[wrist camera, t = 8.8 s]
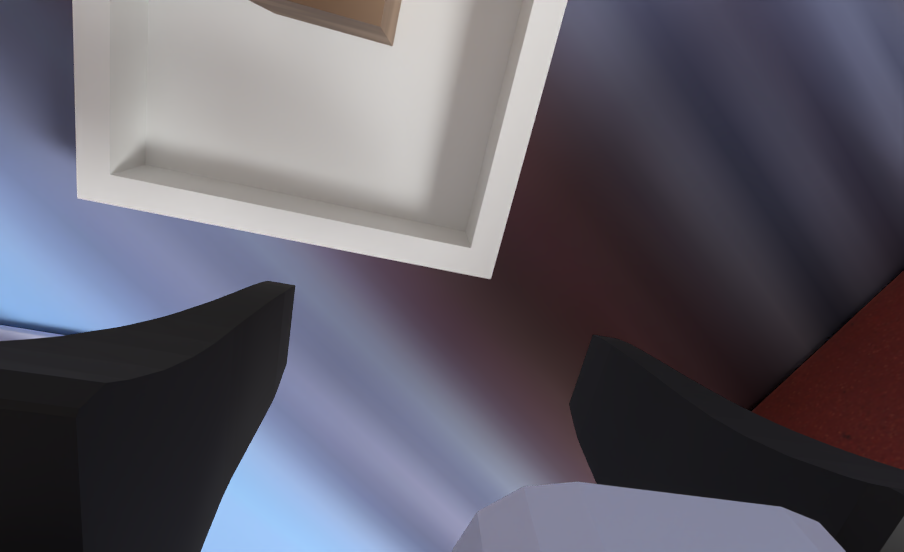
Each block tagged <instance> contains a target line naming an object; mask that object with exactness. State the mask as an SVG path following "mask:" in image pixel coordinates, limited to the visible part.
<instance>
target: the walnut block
mask: <svg viewBox="0 0 904 552" xmlns="http://www.w3.org/2000/svg"><path fill="white" fill-rule="evenodd" d="M249 1H251V2H253V3H255V4H257V5H259V6H261V7H263V8H265V9H267V10H269V11H271V12H273V13H275V14H278V15H281V16H285V17H289V18H292V19H296V20H299V21H303V22H307V23H310V24H314V25H317V26H321V27H325V28H328V29H332V30H335V31H339V32H342V33H346V34H350V35H353V36H357V37H360V38H364V39H368V40H371V41H375V42H378V43H382V44H386V45H389V46H393V43H394V38H395V32H396V27H397V22H398V17H399V12H400V7H401V1H402V0H249Z"/></svg>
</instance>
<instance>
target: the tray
mask: <svg viewBox="0 0 904 552" xmlns="http://www.w3.org/2000/svg"><path fill="white" fill-rule="evenodd" d="M567 1H568V0H402V1H401V7H400V12H399V17H398V22H397V27H396V32H395V38H394V43H393V46H389V45H386V44H382V43H378V42H375V41H371V40H368V39H364V38H360V37H357V36H353V35H350V34H346V33H342V32H339V31H335V30H332V29H328V28H325V27H321V26H317V25H314V24H310V23H307V22H303V21H299V20H296V19H292V18H289V17H285V16H281V15H278V14H275V13H273V12H271V11H269V10H267V9H265V8H263V7H261V6H259V5H257V4H255V3H253V2H251V1H249V0H72V5H73V45H74V85H75V126H76V166H77V198H79V199H84V200H89V201H94V202H100V203H105V204H110V205H115V206H120V207H125V208H130V209H135V210H140V211H145V212H150V213H156V214H161V215H166V216H171V217H176V218H181V219H186V220H191V221H196V222H201V223H206V224H212V225H217V226H222V227H227V228H232V229H237V230H242V231H247V232H252V233H257V234H262V235H268V236H273V237H278V238H283V239H288V240H293V241H298V242H303V243H308V244H313V245H318V246H324V247H329V248H334V249H339V250H344V251H349V252H354V253H359V254H364V255H369V256H374V257H380V258H385V259H390V260H395V261H400V262H405V263H410V264H415V265H420V266H425V267H430V268H436V269H441V270H446V271H451V272H456V273H461V274H466V275H471V276H476V277H481V278H486V279H491V277H492V273H493V270H494V266H495V262H496V259H497V255H498V252H499V248H500V244H501V241H502V237H503V233H504V230H505V226H506V222H507V219H508V215H509V212H510V208H511V204H512V201H513V197H514V193H515V190H516V186H517V183H518V179H519V175H520V172H521V168H522V164H523V161H524V157H525V153H526V150H527V146H528V143H529V139H530V135H531V132H532V128H533V124H534V121H535V117H536V114H537V110H538V106H539V103H540V99H541V95H542V92H543V88H544V85H545V81H546V77H547V74H548V70H549V66H550V63H551V59H552V55H553V52H554V48H555V45H556V41H557V37H558V34H559V30H560V26H561V23H562V19H563V16H564V12H565V8H566V5H567Z"/></svg>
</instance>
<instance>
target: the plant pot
mask: <svg viewBox="0 0 904 552" xmlns="http://www.w3.org/2000/svg"><path fill="white" fill-rule="evenodd" d="M751 412H753V413H755V414H757V415H760V416H762V417H764V418H766V419H768V420H770V421H772V422H775V423H777V424H779V425H781V426H784V427H786V428H788V429H791V430H793V431H795V432H798V433H800V434H803V435H805V436H808V437H811V438H813V439H816V440H818V441H821V442H823V443H826V444H828V445H831V446H834V447H836V448H839V449H842V450H845V451H848V452H850V453H853V454H856V455H859V456H862V457H865V458H868V459H871V460H874V461H877V462H880V463H883V464H887V465H890V466H893V467H896V468H899V469H902V470H904V271H902V272H901V273H900V274H899V275H898V276H897V277H896V278H895V279H894V280H893V281H892V282H891V283H889V284H888V285H887V286H886V287H885V288H884V289H883V290H882V291H881V292H880V293H879V294H878V295H876V296H875V297H874V298H873V299H872V300H871V301H870V302H869V303H868V304H867V305H866V306H865V307H864V308H862V309H861V310H860V311H859V312H858V313H857V314H856V315H855V316H854V317H853V318H852V319H851V320H850V321H848V322H847V323H846V324H845V325H844V326H843V327H842V328H841V329H840V330H839V331H838V332H837V333H836V334H835V335H833V336H832V337H831V338H830V339H829V340H828V341H827V342H826V343H825V344H824V345H823V346H822V347H821V348H819V349H818V350H817V351H816V352H815V353H814V354H813V355H812V356H811V357H810V358H809V359H808V360H807V361H805V362H804V363H803V364H802V365H801V366H800V367H799V368H798V369H797V370H796V371H795V372H794V373H792V374H791V375H790V376H789V377H788V378H787V379H786V380H785V381H784V382H783V383H782V384H781V385H779V386H778V387H777V388H776V389H775V390H774V391H773V392H772V393H771V394H770V395H769V396H768V397H766V398H765V399H764V400H763V401H762V402H761V403H760V404H759V405H758V406H757V407H756V408H755V409H754V410H752V411H751Z"/></svg>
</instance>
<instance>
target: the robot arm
mask: <svg viewBox="0 0 904 552" xmlns="http://www.w3.org/2000/svg"><path fill="white" fill-rule="evenodd" d="M294 292H295V285H289V284H283V283H277V282H271V281H265V282H261V283H258V284H255V285H252V286H250V287H247V288H245V289H242V290H239V291H237V292H234V293H232V294H229V295H227V296H224V297H221V298H219V299H216V300H214V301H211V302H208V303H205V304H202V305H199V306H196V307H193V308H190V309H187V310H184V311H181V312H178V313H175V314H172V315H168V316H165V317H161V318H157V319H153V320H149V321H145V322H140V323H136V324H131V325H127V326H122V327H117V328H111V329H104V330H98V331H91V332H84V333H78V334H71V335H60V334H54V333H48V332H42V331H35V330H29V329H23V328H17V327H10V326H4V325H0V552H201V549H202V547H203V544H204V541H205V539H206V536H207V534H208V531H209V529H210V526H211V524H212V522H213V519H214V517H215V514H216V512H217V509H218V507H219V504H220V502H221V499H222V497H223V495H224V493H225V490H226V488H227V486H228V484H229V482H230V480H231V478H232V476H233V474H234V472H235V470H236V468H237V467H238V465H239V463H240V461H241V459H242V457H243V455H244V454H245V452H246V450H247V448H248V446H249V444H250V443H251V441H252V439H253V437H254V435H255V433H256V431H257V430H258V428H259V426H260V424H261V422H262V420H263V418H264V416H265V415H266V413H267V411H268V409H269V407H270V405H271V403H272V401H273V399H274V397H275V394H276V392H277V389H278V386H279V384H280V381H281V378H282V375H283V372H284V369H285V367H286V364H287V355H288V346H289V337H290V328H291V319H292V310H293V301H294ZM569 406H570V410H571V414H572V419H573V423H574V427H575V430H576V434H577V437H578V440H579V443H580V445H581V448H582V450H583V453H584V455H585V457H586V460H587V462H588V464H589V467H590V469H591V471H592V474H593V476H594V478H595V481H596V483H597V484H592V483H584V482H567V483H556V484H545V485H535V486H524V487H522V488H520V489H518V490H516V491H514V492H513V493H511V494H509V495H507V496H505V497H504V498H502V499H500V500H498V501H496V502H494V503H493V504H491V505H489V506H487V507H485V508H483V509H482V510H480V511H478V512H477V513H476V515H475V516H474V518H473V519H472V521H471V522H470V524H469V525H468V527H467V528H466V530H465V531H464V533H463V534H462V536H461V537H460V539H459V540H458V542H457V543H456V545H455V546H454V548H453V551H452V552H904V470H902V469H899V468H896V467H893V466H890V465H887V464H883V463H880V462H877V461H874V460H871V459H868V458H865V457H862V456H859V455H856V454H853V453H850V452H848V451H845V450H842V449H839V448H836V447H834V446H831V445H828V444H826V443H823V442H821V441H818V440H816V439H813V438H811V437H808V436H805V435H803V434H800V433H798V432H795V431H793V430H791V429H788V428H786V427H784V426H781V425H779V424H777V423H775V422H772V421H770V420H768V419H766V418H764V417H762V416H760V415H757V414H755V413H753V412H751V411H749V410H747V409H745V408H743V407H741V406H739V405H737V404H735V403H733V402H731V401H729V400H727V399H725V398H724V397H722V396H720V395H718V394H716V393H714V392H713V391H711V390H709V389H707V388H705V387H703V386H702V385H700V384H698V383H696V382H695V381H693V380H691V379H690V378H688V377H686V376H684V375H683V374H681V373H679V372H678V371H676V370H674V369H673V368H671V367H669V366H668V365H666V364H664V363H663V362H661V361H659V360H657V359H656V358H654V357H652V356H651V355H649V354H647V353H645V352H644V351H642V350H640V349H638V348H636V347H634V346H633V345H631V344H629V343H626V342H624V341H622V340H619V339H616V338H610V337H604V336H598V335H593V336H592V339H591V342H590V345H589V348H588V351H587V354H586V356H585V359H584V362H583V365H582V368H581V371H580V374H579V377H578V380H577V383H576V386H575V389H574V392H573V395H572V398H571V400H570V403H569Z"/></svg>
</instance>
